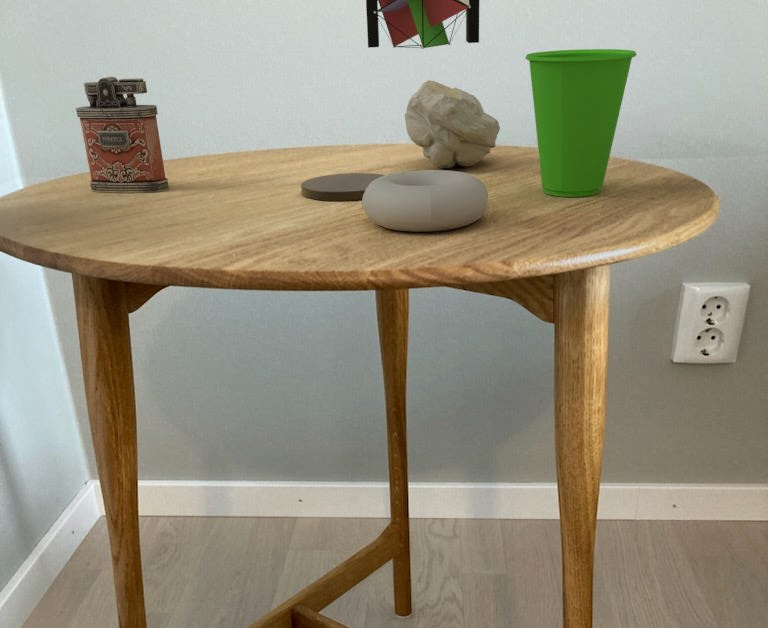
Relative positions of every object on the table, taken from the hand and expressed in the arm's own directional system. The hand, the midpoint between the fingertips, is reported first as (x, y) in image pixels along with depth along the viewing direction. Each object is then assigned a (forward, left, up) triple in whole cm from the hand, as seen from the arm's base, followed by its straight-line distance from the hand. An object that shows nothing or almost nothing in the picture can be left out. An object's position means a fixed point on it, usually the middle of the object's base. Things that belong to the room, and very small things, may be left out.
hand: (422, 43), depth 67 cm
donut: (0, 0, -13) cm, 13 cm away
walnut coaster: (-7, +14, -13) cm, 20 cm away
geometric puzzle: (0, 0, 0) cm, 0 cm away
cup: (+13, +10, -13) cm, 21 cm away
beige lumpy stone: (+3, +26, -13) cm, 29 cm away
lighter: (-29, +19, -13) cm, 37 cm away
